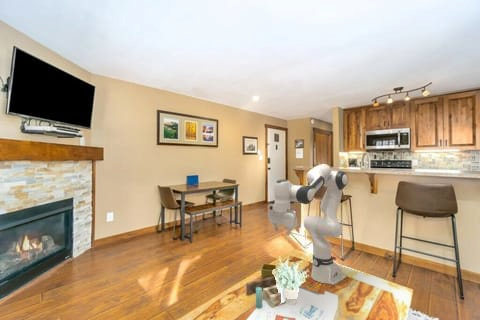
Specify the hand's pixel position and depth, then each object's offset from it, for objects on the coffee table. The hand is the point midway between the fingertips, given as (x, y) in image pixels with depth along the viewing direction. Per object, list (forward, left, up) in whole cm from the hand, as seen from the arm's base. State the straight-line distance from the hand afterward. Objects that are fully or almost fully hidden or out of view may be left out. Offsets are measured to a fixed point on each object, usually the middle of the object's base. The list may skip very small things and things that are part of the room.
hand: (282, 232), depth 125 cm
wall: (+6, -11, -36) cm, 38 cm away
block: (+6, 0, -36) cm, 36 cm away
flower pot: (-2, -18, -36) cm, 40 cm away
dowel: (+16, +1, -36) cm, 39 cm away
